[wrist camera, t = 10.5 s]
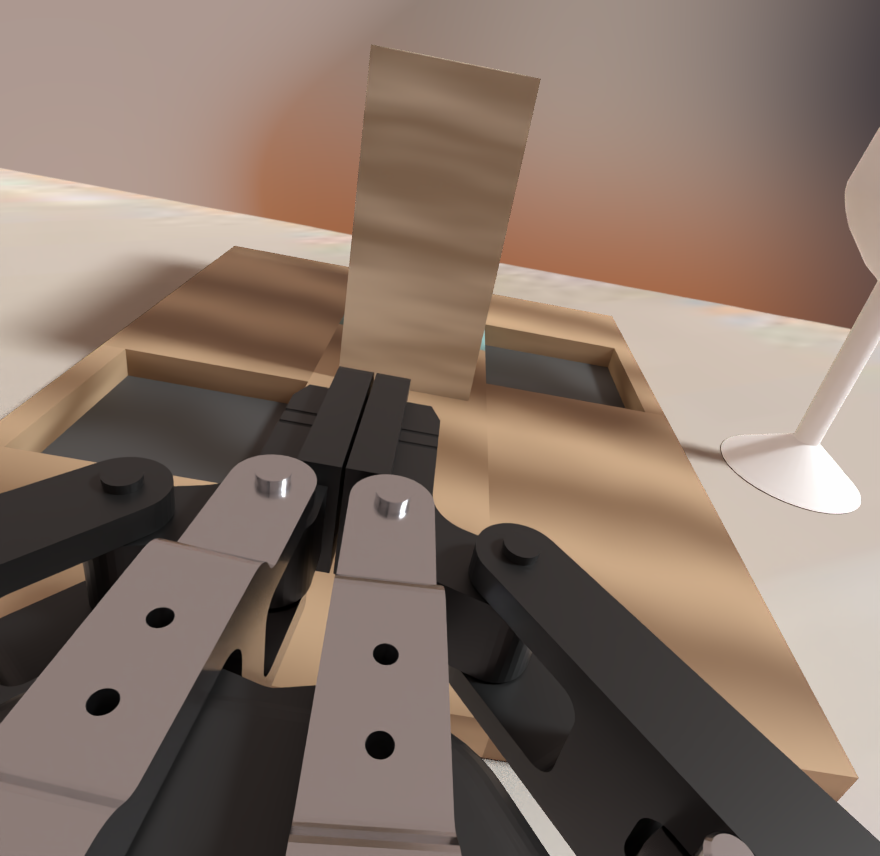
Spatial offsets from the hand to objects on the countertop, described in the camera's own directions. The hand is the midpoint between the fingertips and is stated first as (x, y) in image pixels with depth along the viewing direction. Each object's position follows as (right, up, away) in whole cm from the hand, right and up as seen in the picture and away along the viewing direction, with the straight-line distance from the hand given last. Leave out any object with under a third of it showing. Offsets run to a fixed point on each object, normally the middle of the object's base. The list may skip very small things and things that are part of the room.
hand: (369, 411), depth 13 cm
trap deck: (-1, 0, +16) cm, 16 cm away
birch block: (0, +5, +21) cm, 22 cm away
